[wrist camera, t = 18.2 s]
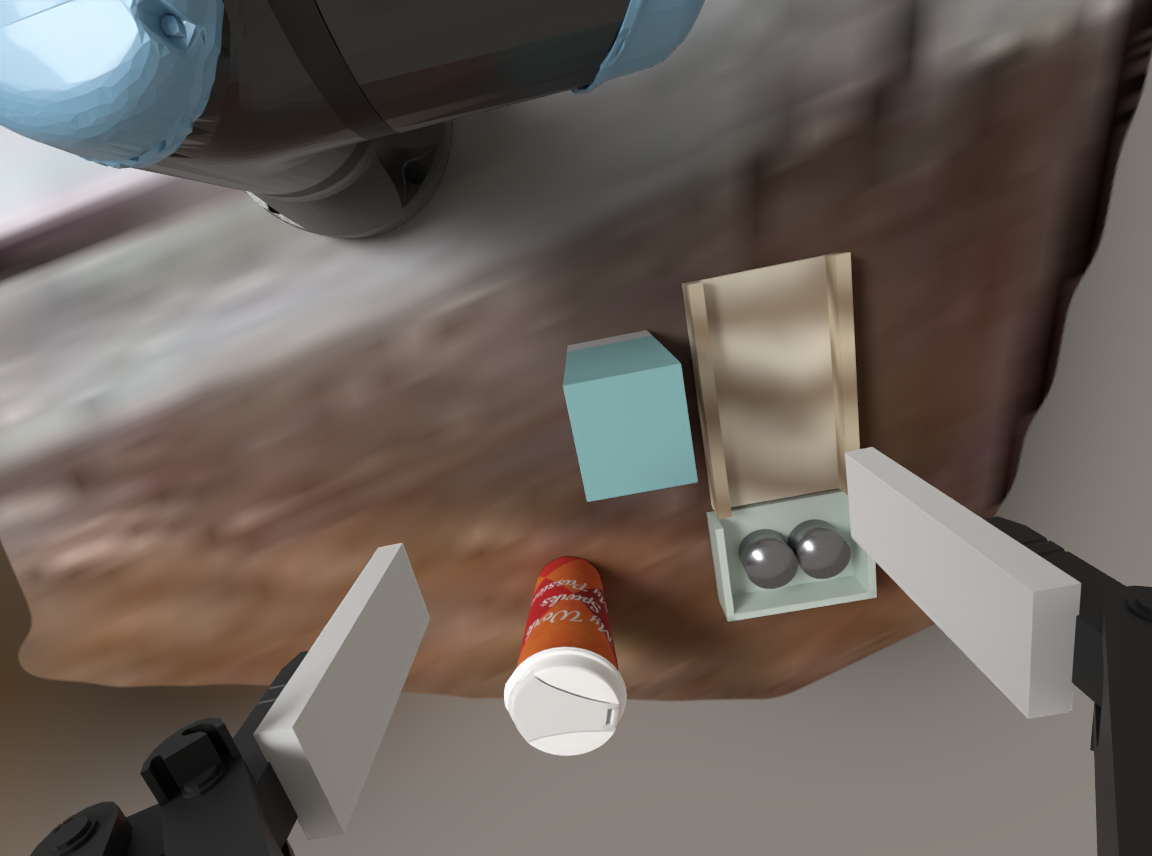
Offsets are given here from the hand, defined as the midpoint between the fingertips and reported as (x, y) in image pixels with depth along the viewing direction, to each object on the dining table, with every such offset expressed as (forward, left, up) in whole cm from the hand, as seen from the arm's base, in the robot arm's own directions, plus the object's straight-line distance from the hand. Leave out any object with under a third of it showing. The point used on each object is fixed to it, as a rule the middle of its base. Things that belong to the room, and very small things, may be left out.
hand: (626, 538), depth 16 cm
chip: (+18, +11, -26) cm, 33 cm away
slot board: (+4, +13, -26) cm, 30 cm away
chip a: (+17, +15, -26) cm, 35 cm away
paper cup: (+18, -6, -27) cm, 33 cm away
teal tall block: (+1, +1, -27) cm, 27 cm away
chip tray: (+18, +13, -26) cm, 34 cm away
